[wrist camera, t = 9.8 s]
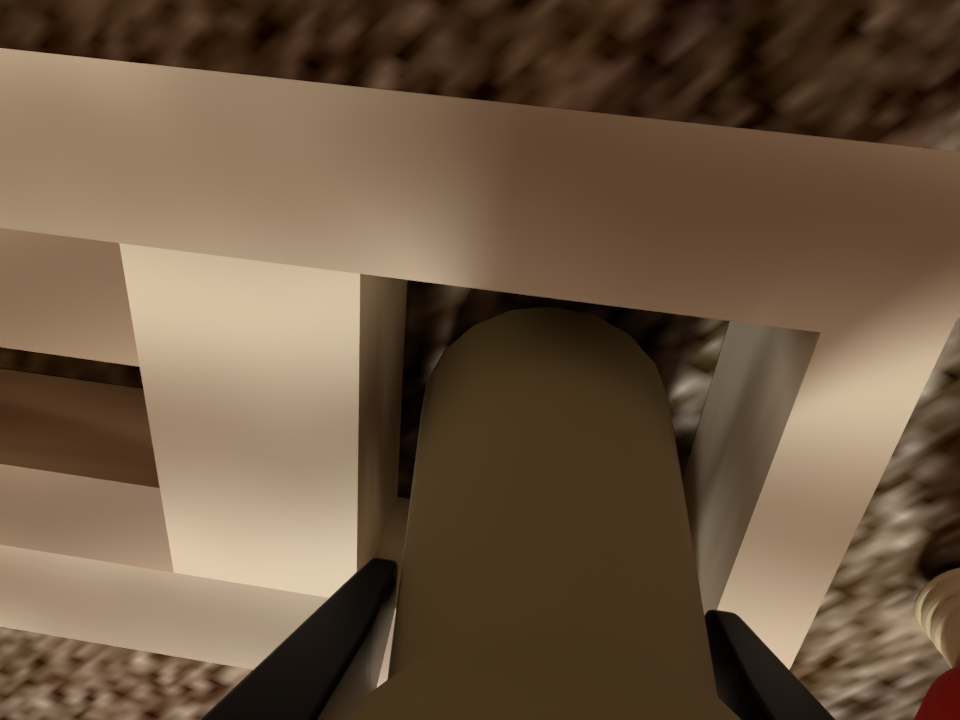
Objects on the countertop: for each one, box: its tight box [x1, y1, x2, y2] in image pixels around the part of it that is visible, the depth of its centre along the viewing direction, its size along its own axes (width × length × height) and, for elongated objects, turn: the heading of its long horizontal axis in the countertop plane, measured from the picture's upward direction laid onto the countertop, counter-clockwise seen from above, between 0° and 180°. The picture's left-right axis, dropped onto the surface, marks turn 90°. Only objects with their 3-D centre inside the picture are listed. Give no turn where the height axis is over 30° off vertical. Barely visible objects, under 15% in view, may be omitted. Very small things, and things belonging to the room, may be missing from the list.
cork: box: [349, 306, 741, 720], centre depth 9 cm, size 6×6×11 cm
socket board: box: [0, 48, 960, 687], centre depth 14 cm, size 14×24×4 cm, turn 84°
